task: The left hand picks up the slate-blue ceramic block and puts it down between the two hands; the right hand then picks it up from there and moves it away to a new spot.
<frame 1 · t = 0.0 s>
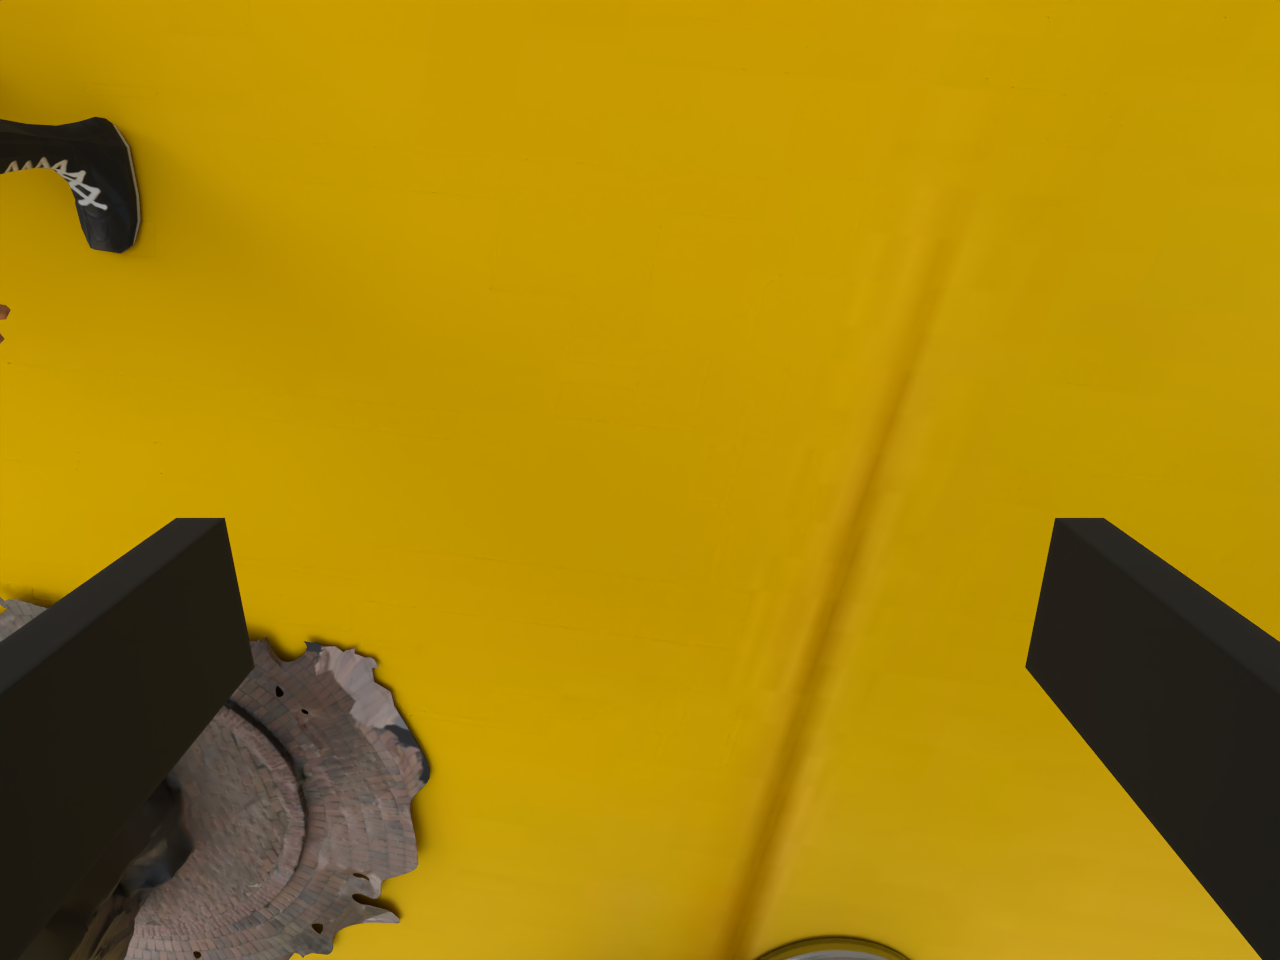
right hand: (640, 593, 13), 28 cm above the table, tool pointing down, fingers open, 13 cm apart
sculpture: (156, 797, 49), on the table
figurine: (21, 151, 36), on the table
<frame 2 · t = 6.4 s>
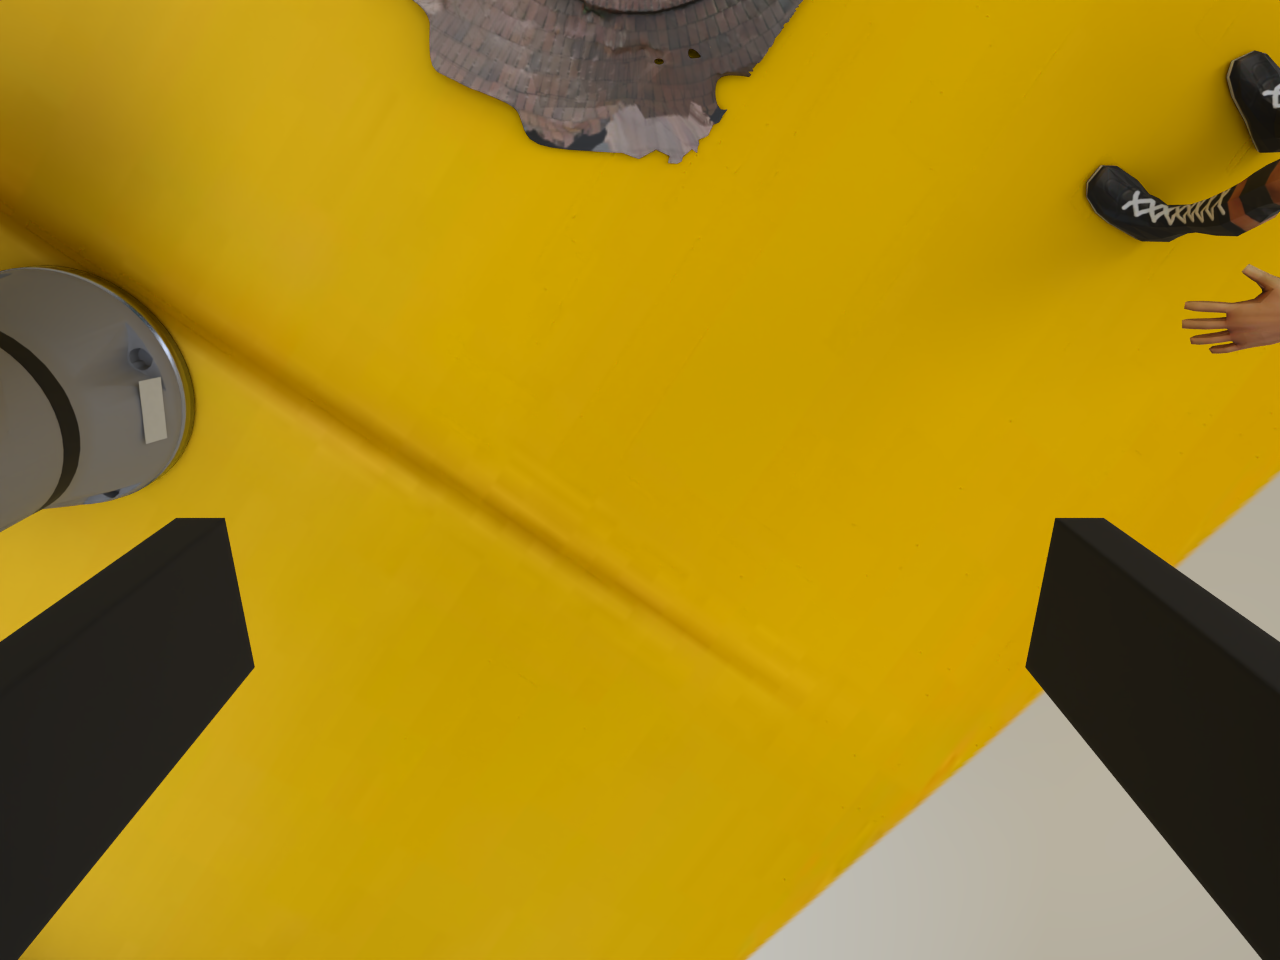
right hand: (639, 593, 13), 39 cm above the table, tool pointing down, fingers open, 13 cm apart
figurine: (1185, 154, 46), on the table
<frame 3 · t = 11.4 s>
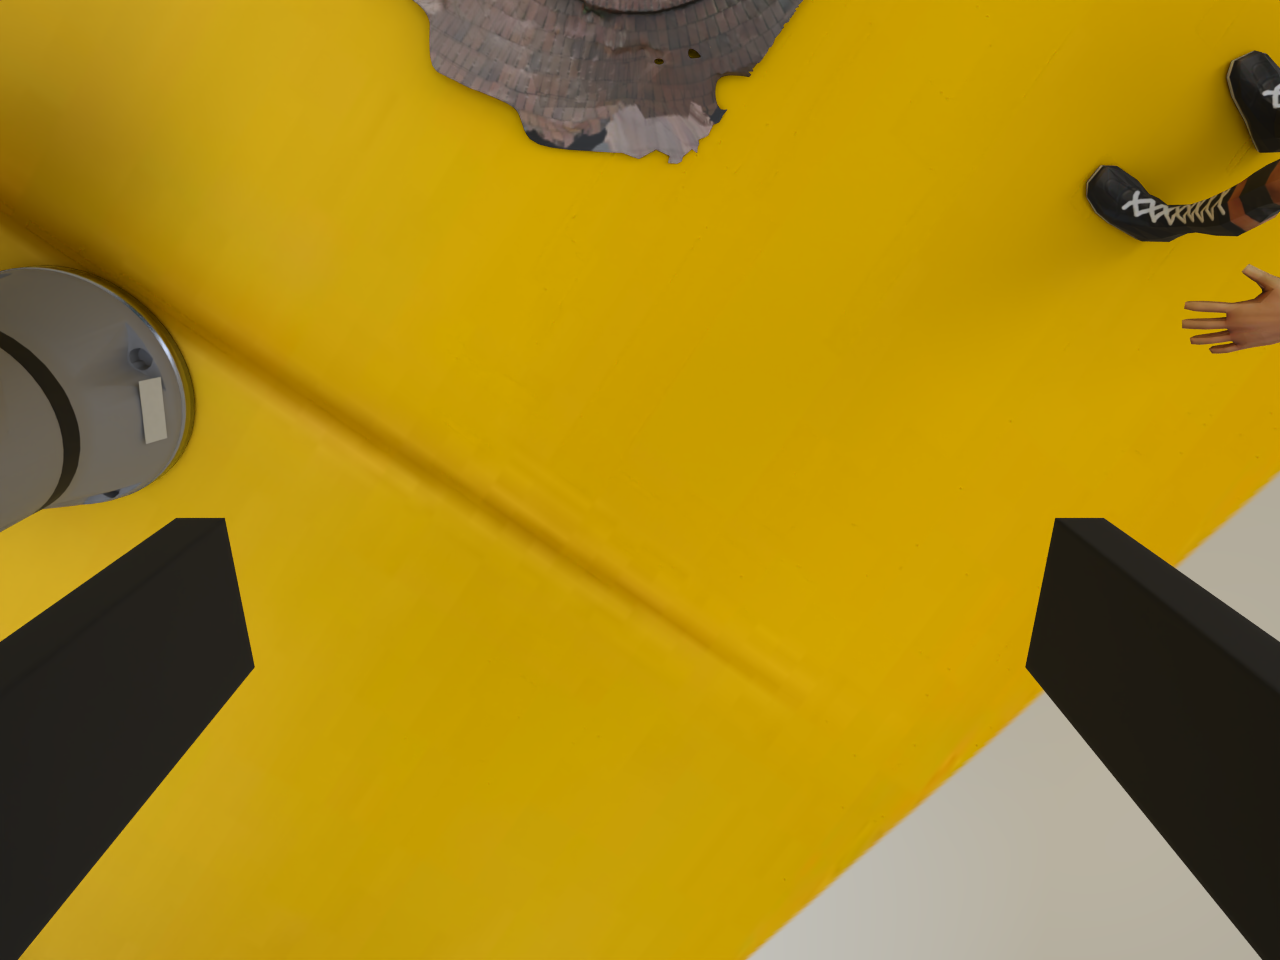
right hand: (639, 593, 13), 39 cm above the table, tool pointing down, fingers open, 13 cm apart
figurine: (1185, 154, 46), on the table
when the left hand's fingers open (6 cm above the table, at t = 16.5 s): block drops 2 cm, on the table.
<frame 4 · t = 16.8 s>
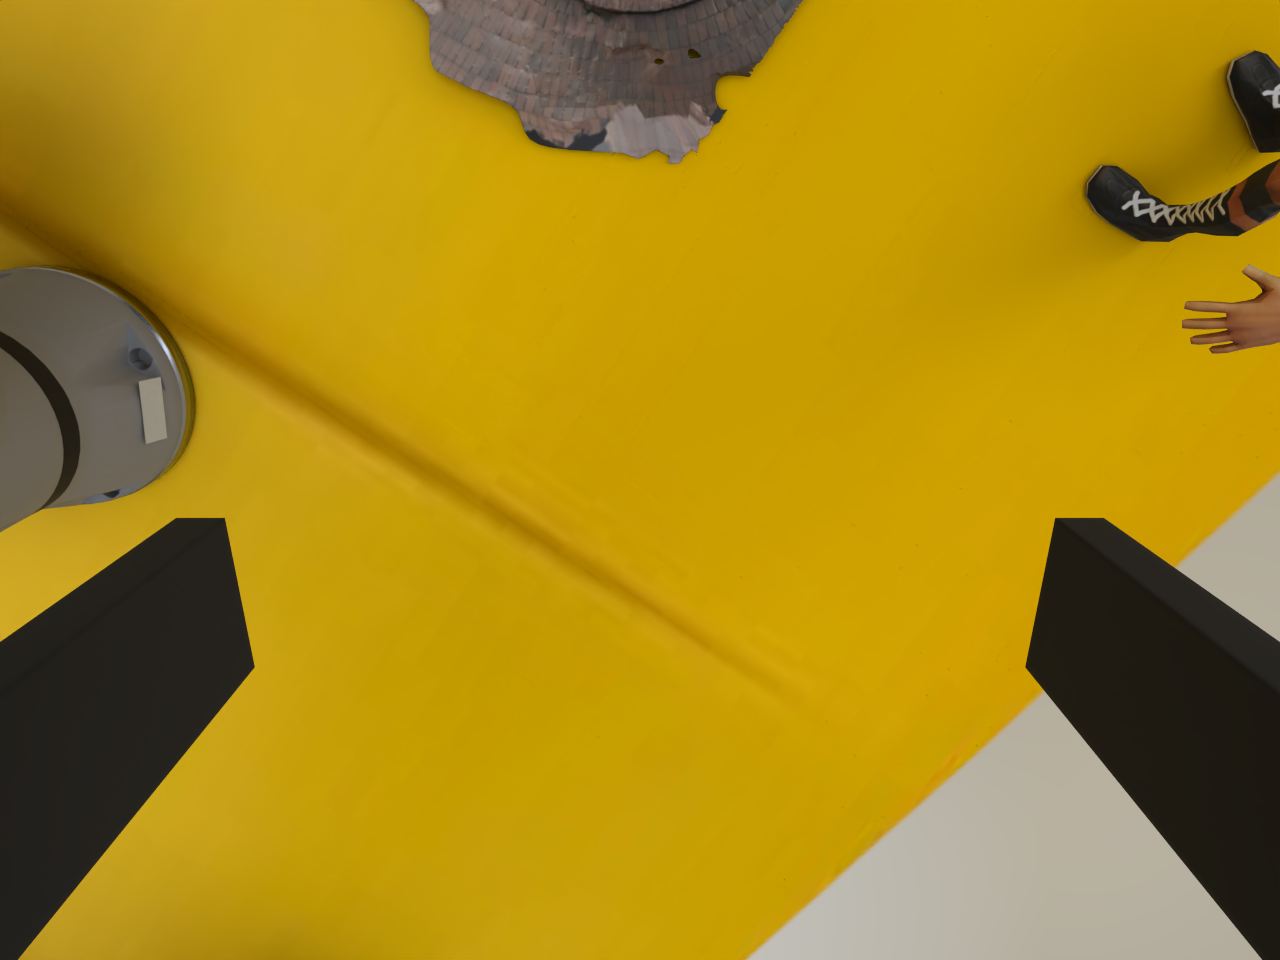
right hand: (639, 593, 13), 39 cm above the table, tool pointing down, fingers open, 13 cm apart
figurine: (1185, 154, 46), on the table
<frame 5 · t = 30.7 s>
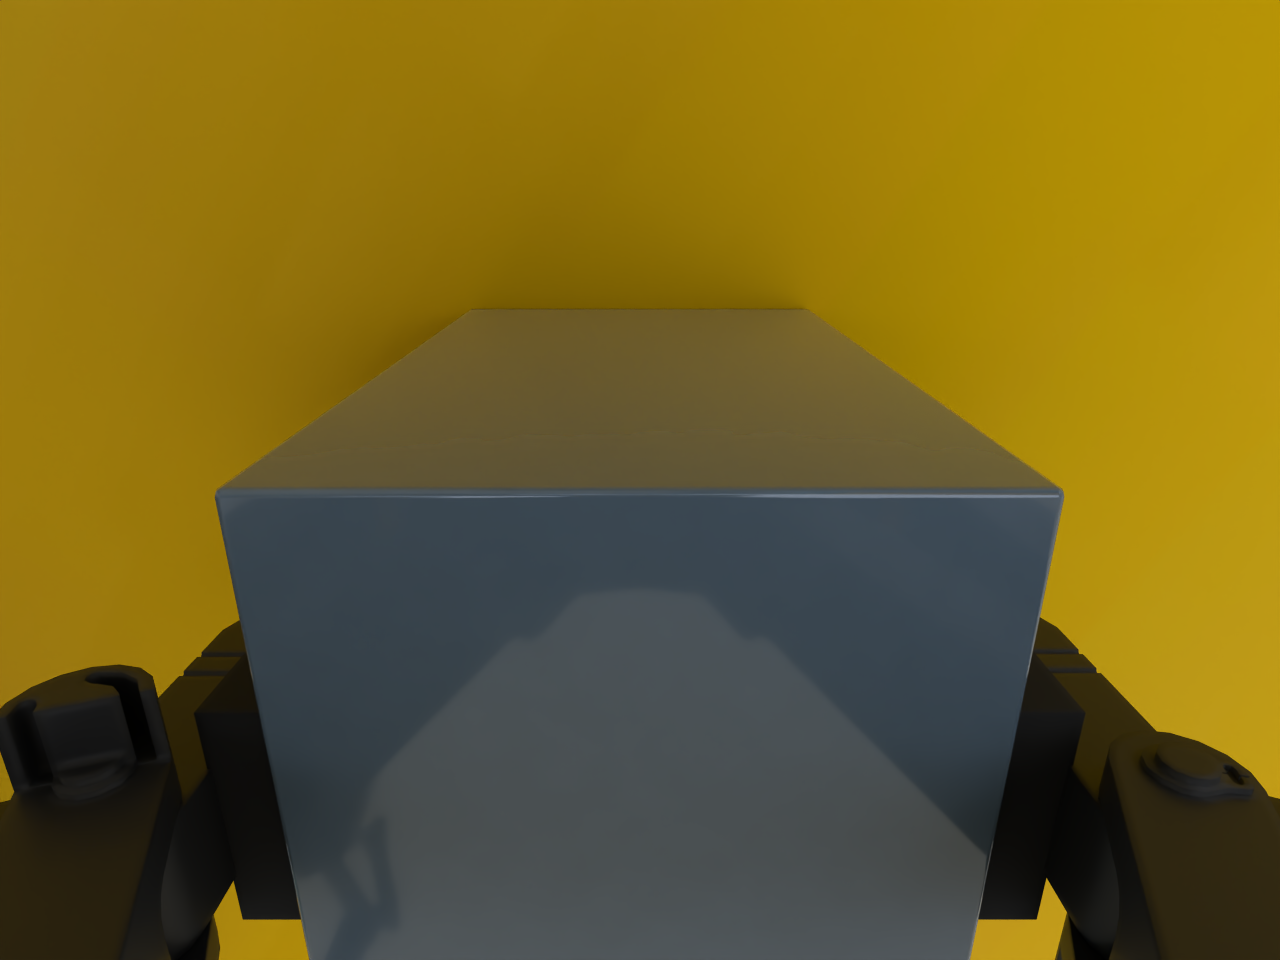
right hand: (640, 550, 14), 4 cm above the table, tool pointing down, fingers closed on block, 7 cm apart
block: (639, 477, 18), on the table, touching right hand
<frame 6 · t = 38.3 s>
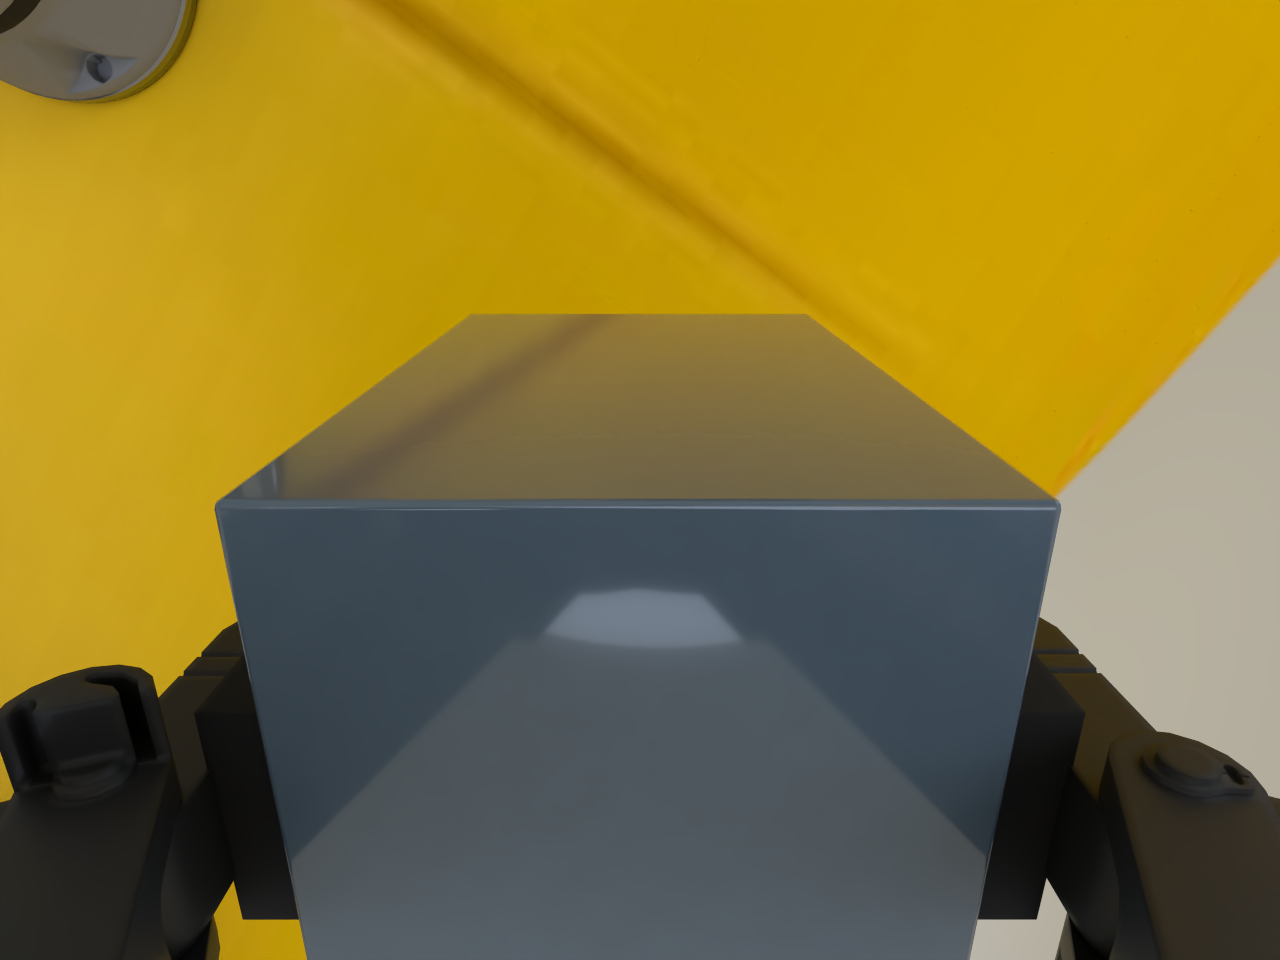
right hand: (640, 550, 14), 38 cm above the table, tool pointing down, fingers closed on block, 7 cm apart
block: (638, 482, 18), point 34 cm above the table, touching right hand
when the right hand's fingers open (6 cm above the table, at t = 46.0 s): block drops 2 cm, on the table.
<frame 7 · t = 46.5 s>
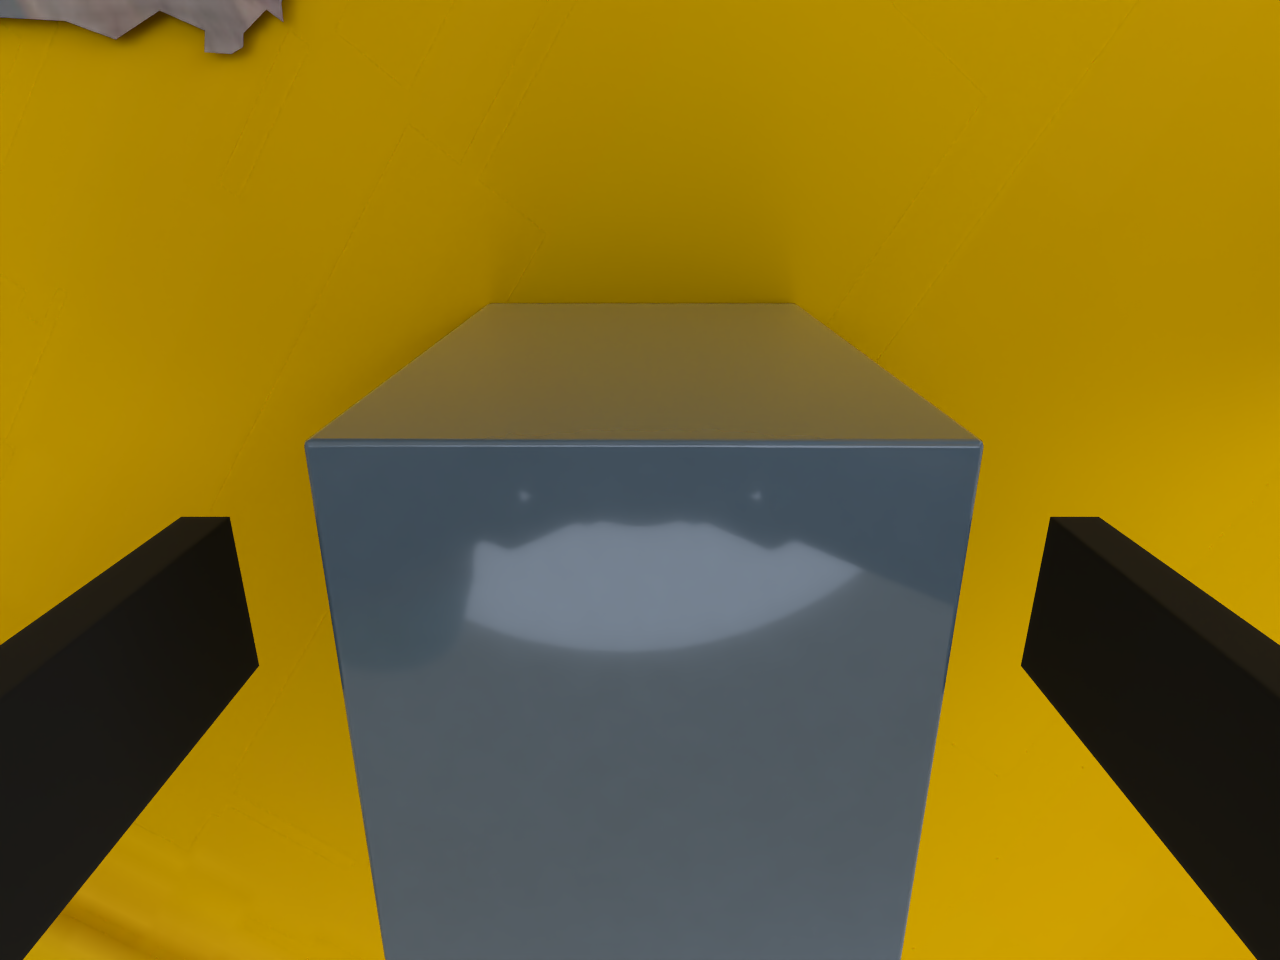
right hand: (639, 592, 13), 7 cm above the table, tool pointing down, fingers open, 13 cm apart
block: (641, 458, 19), on the table
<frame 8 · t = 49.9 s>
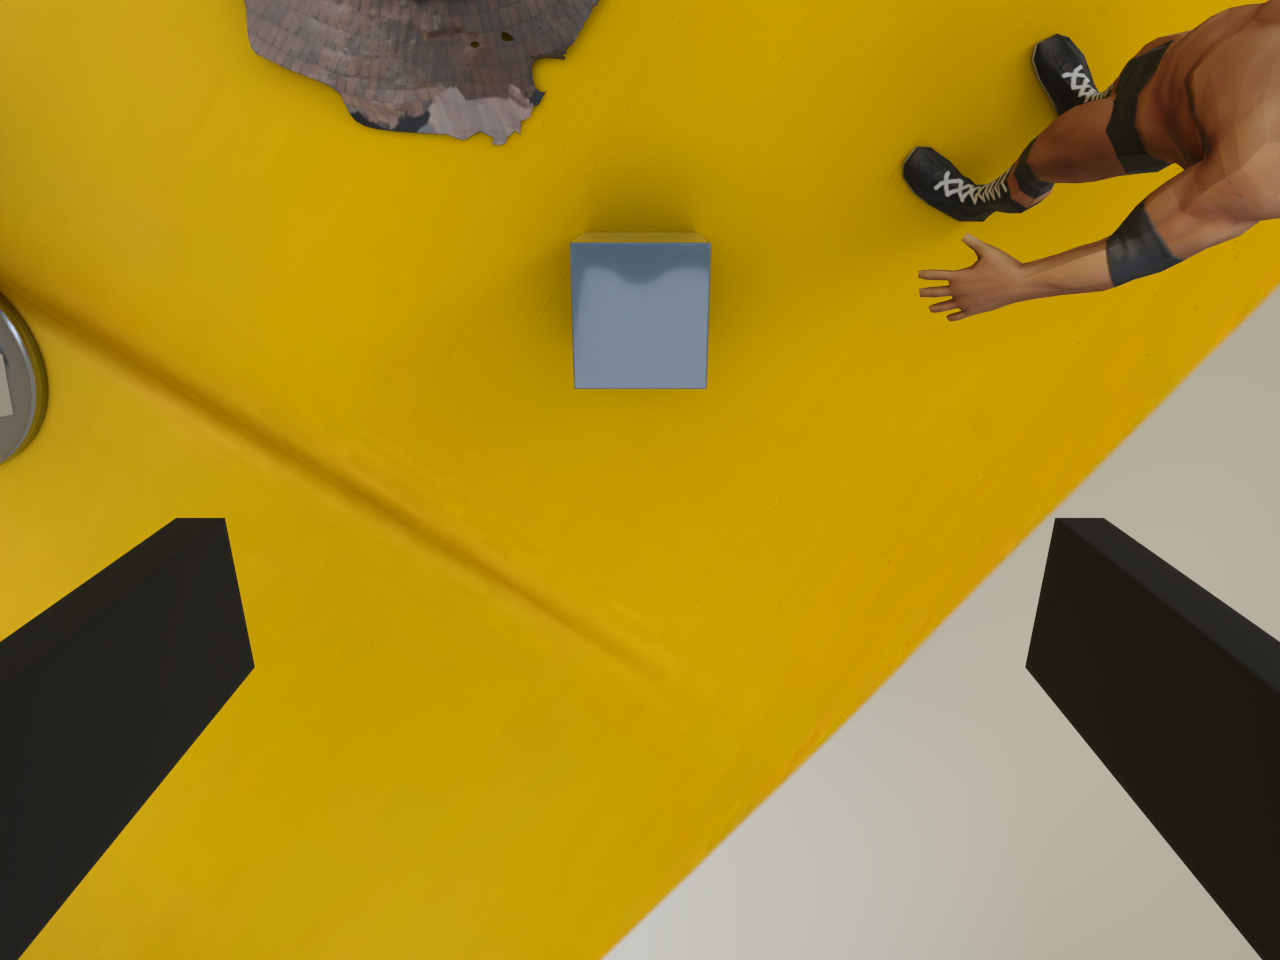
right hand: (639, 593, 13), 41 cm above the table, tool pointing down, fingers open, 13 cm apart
block: (640, 293, 51), on the table
figurine: (998, 136, 48), on the table
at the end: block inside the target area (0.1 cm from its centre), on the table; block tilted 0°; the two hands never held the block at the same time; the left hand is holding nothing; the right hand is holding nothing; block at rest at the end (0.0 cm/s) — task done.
